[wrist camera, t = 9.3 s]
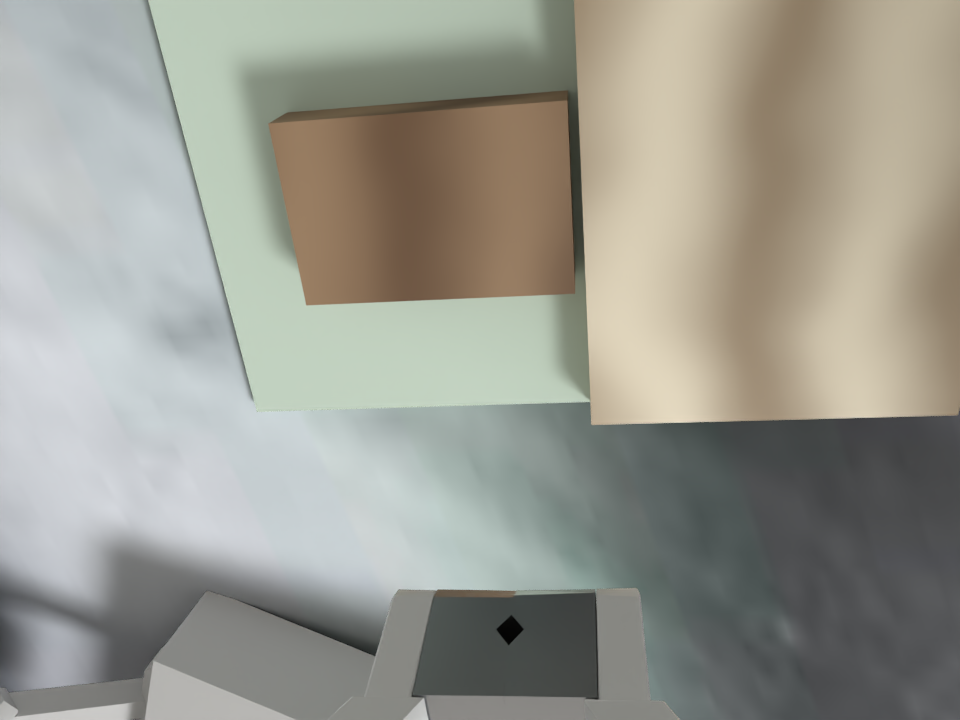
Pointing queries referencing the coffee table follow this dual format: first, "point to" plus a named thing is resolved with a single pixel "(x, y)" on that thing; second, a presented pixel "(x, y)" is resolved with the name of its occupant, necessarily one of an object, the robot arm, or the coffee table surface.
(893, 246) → the deck
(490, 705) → the robot arm
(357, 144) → the coaster
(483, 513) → the coffee table surface
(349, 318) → the mat
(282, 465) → the coffee table surface
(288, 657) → the game console
